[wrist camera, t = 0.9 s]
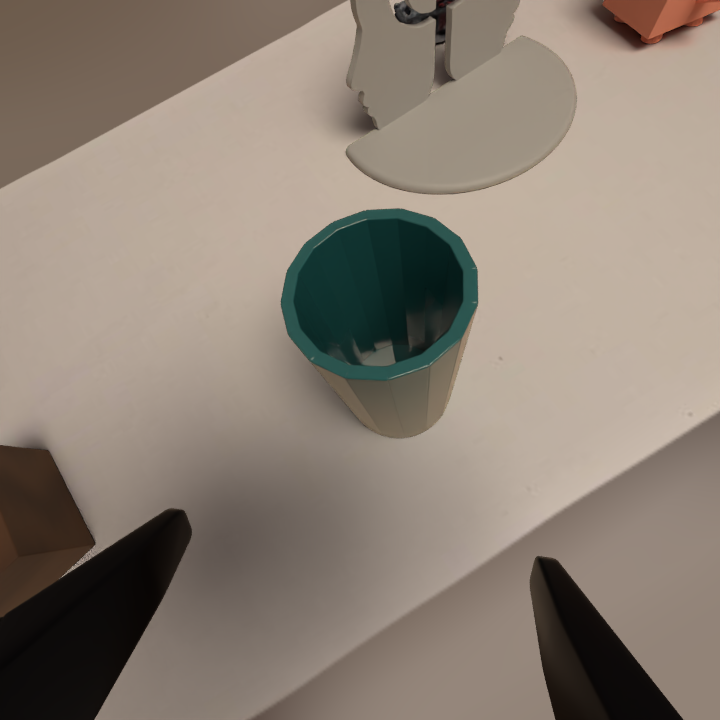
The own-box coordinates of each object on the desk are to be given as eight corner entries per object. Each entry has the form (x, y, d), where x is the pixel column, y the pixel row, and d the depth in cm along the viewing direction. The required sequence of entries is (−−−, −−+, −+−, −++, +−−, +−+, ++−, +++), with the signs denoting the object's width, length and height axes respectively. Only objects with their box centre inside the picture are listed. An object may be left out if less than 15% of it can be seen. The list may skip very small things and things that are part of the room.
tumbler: (449, 442, 22) (480, 384, 10) (344, 434, 24) (265, 374, 12) (450, 343, 25) (476, 204, 13) (354, 340, 26) (297, 212, 14)
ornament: (522, 39, 35) (600, -318, 20) (634, 98, 30) (858, -320, 15) (343, 153, 33) (275, -136, 18) (428, 236, 28) (436, -68, 13)
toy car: (510, 13, 37) (517, -28, 34) (411, 65, 36) (410, 28, 34) (464, -17, 40) (468, -57, 37) (373, 30, 40) (370, -6, 37)
